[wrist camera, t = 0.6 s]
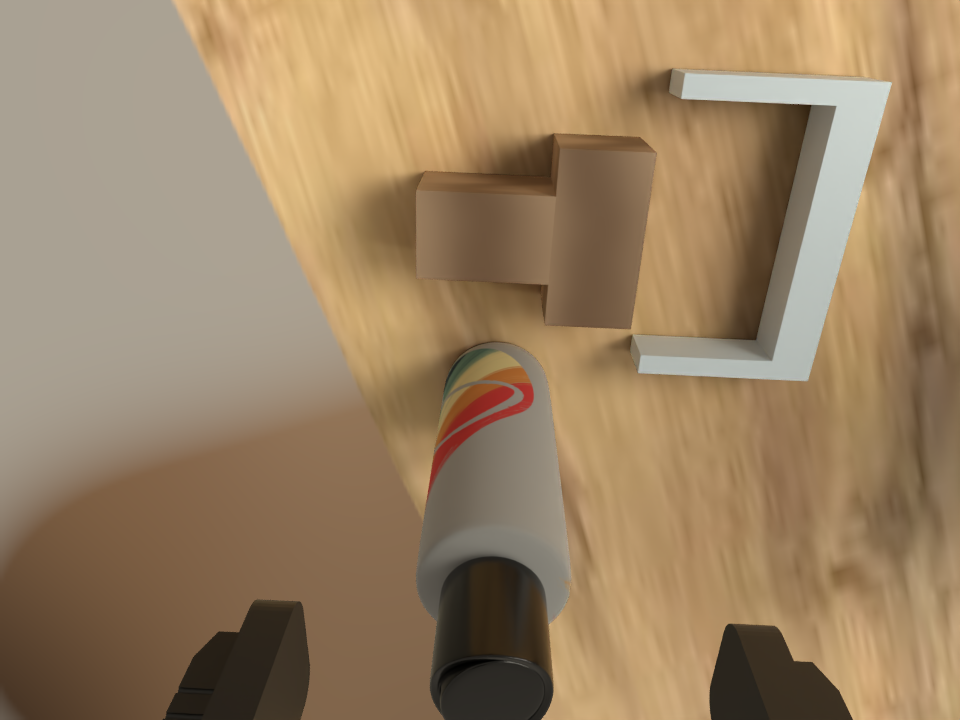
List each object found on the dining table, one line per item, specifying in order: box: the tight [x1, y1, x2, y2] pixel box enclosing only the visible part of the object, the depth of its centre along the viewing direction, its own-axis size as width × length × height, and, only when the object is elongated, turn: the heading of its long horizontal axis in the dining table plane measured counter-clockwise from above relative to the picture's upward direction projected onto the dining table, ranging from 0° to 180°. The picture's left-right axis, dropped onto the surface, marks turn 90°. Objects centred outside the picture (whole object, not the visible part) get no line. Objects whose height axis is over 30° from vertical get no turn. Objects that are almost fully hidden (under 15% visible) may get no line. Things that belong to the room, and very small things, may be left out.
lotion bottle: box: [416, 342, 571, 720], centre depth 30 cm, size 6×6×20 cm
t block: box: [416, 133, 657, 329], centre depth 33 cm, size 10×8×4 cm
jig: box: [630, 69, 892, 381], centre depth 33 cm, size 8×14×2 cm, turn 178°
